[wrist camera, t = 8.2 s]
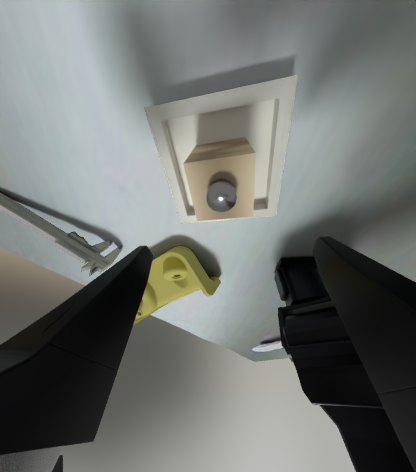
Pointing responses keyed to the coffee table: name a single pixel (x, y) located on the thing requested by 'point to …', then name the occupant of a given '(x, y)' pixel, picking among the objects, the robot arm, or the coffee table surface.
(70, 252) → the caliper
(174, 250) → the plastic component
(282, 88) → the housing tray
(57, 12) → the coffee table surface
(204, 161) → the block
